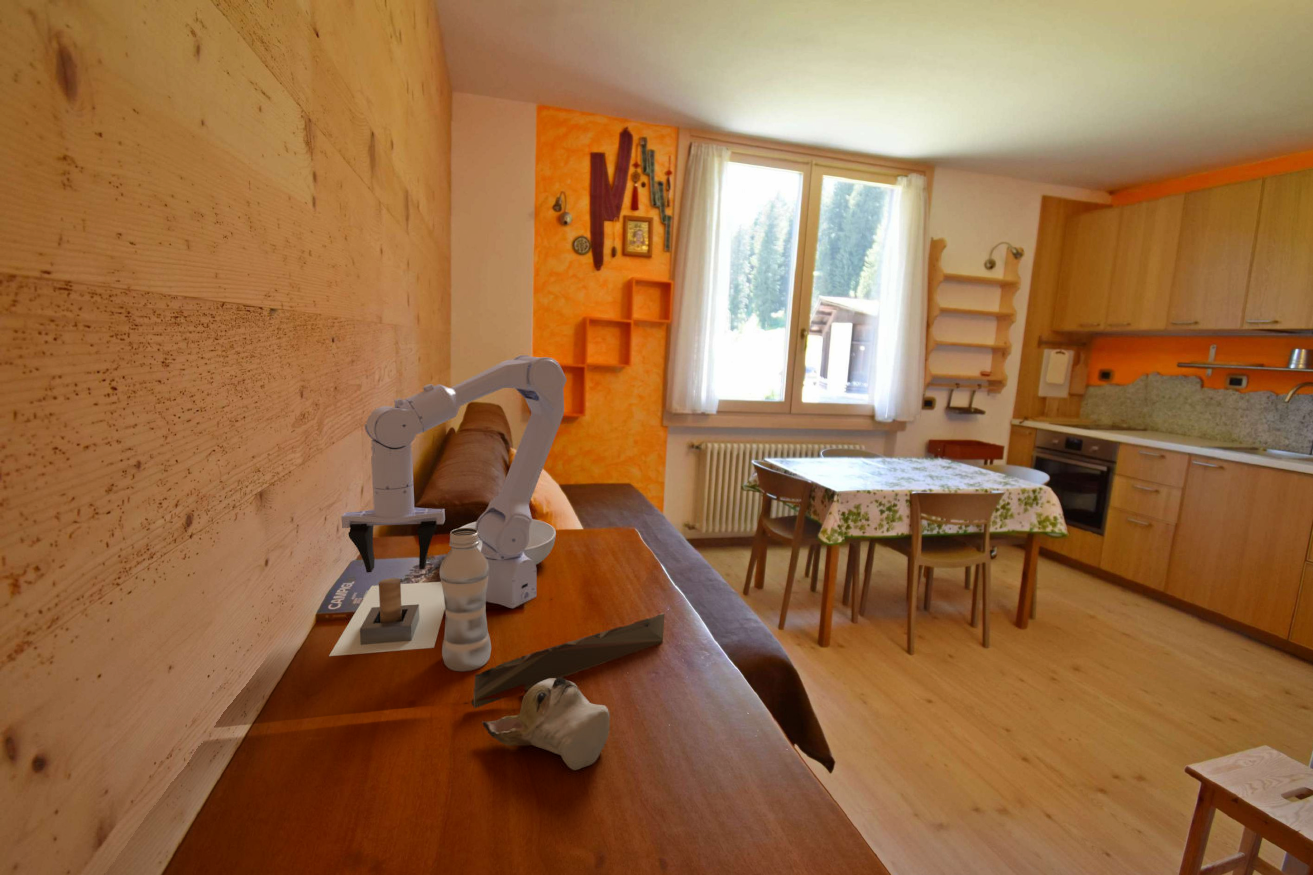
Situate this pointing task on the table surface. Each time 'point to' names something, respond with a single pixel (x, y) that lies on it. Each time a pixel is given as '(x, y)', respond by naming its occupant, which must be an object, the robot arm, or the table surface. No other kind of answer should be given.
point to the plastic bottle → (465, 602)
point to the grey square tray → (389, 626)
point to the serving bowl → (534, 540)
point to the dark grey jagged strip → (567, 658)
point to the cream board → (411, 594)
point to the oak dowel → (390, 600)
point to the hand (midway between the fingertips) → (396, 568)
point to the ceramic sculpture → (556, 723)
